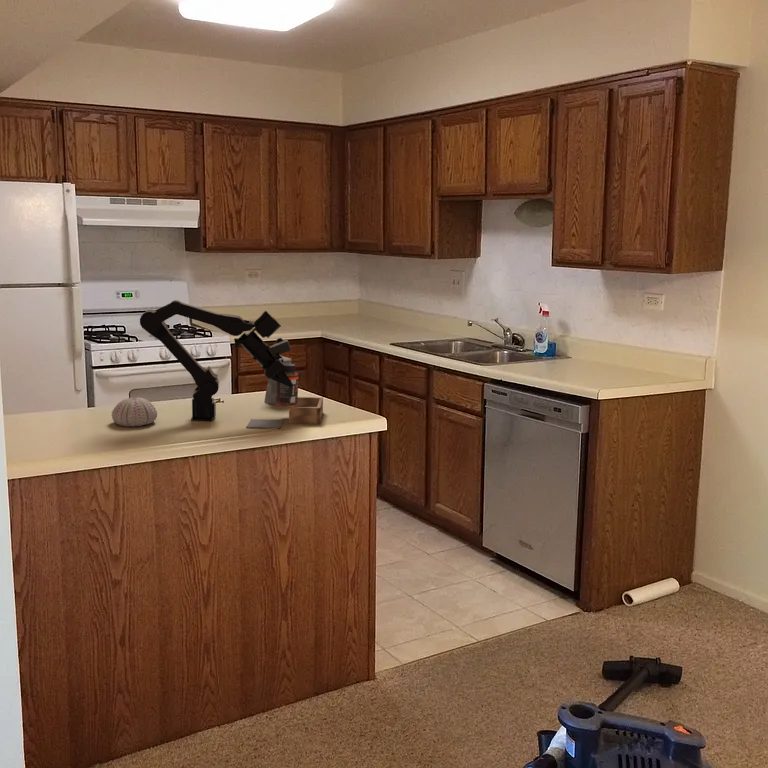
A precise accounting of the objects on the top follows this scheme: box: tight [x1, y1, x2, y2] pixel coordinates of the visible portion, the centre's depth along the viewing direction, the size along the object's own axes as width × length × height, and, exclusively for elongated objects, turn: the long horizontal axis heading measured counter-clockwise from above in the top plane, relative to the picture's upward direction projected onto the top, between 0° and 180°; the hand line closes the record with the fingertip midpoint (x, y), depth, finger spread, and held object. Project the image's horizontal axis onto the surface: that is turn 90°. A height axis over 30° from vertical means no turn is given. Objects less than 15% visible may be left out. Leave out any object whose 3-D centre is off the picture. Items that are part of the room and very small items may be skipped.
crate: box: [288, 396, 324, 425], centre depth 265 cm, size 10×16×5 cm, turn 1°
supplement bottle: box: [276, 363, 299, 407], centre depth 262 cm, size 7×7×13 cm
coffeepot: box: [264, 355, 293, 405], centre depth 286 cm, size 15×9×18 cm, turn 15°
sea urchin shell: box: [111, 396, 158, 428], centre depth 251 cm, size 13×14×8 cm
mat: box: [245, 418, 284, 429], centre depth 254 cm, size 10×10×1 cm
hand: (291, 384), depth 262 cm, fingers closed on supplement bottle, 7 cm apart
